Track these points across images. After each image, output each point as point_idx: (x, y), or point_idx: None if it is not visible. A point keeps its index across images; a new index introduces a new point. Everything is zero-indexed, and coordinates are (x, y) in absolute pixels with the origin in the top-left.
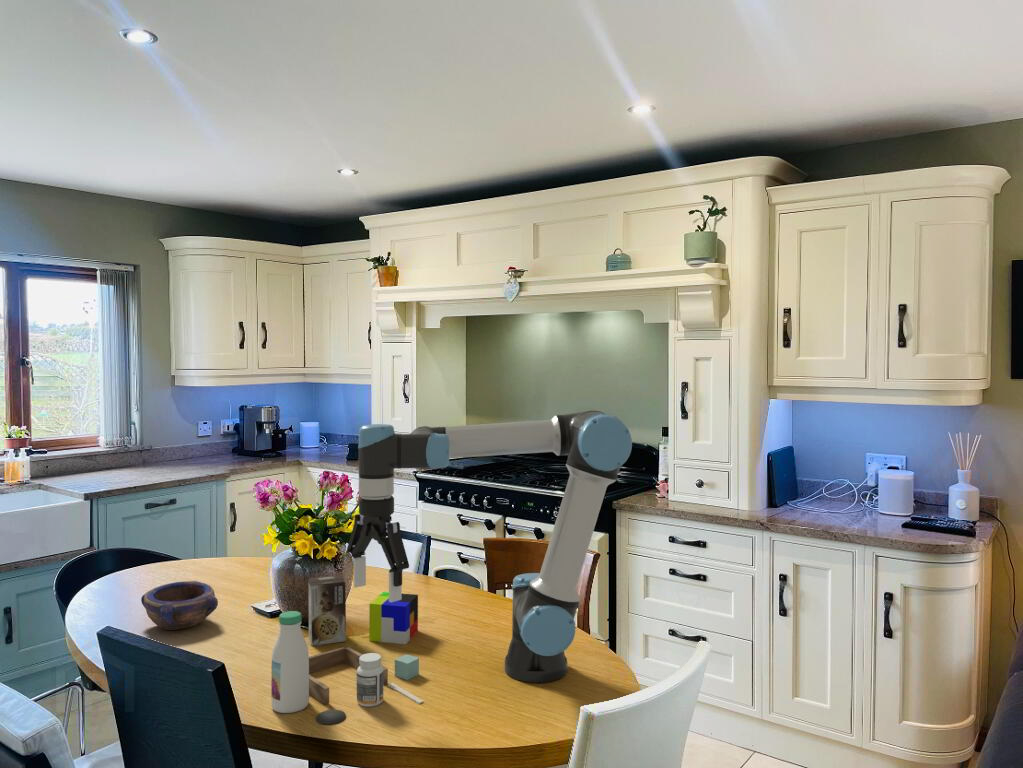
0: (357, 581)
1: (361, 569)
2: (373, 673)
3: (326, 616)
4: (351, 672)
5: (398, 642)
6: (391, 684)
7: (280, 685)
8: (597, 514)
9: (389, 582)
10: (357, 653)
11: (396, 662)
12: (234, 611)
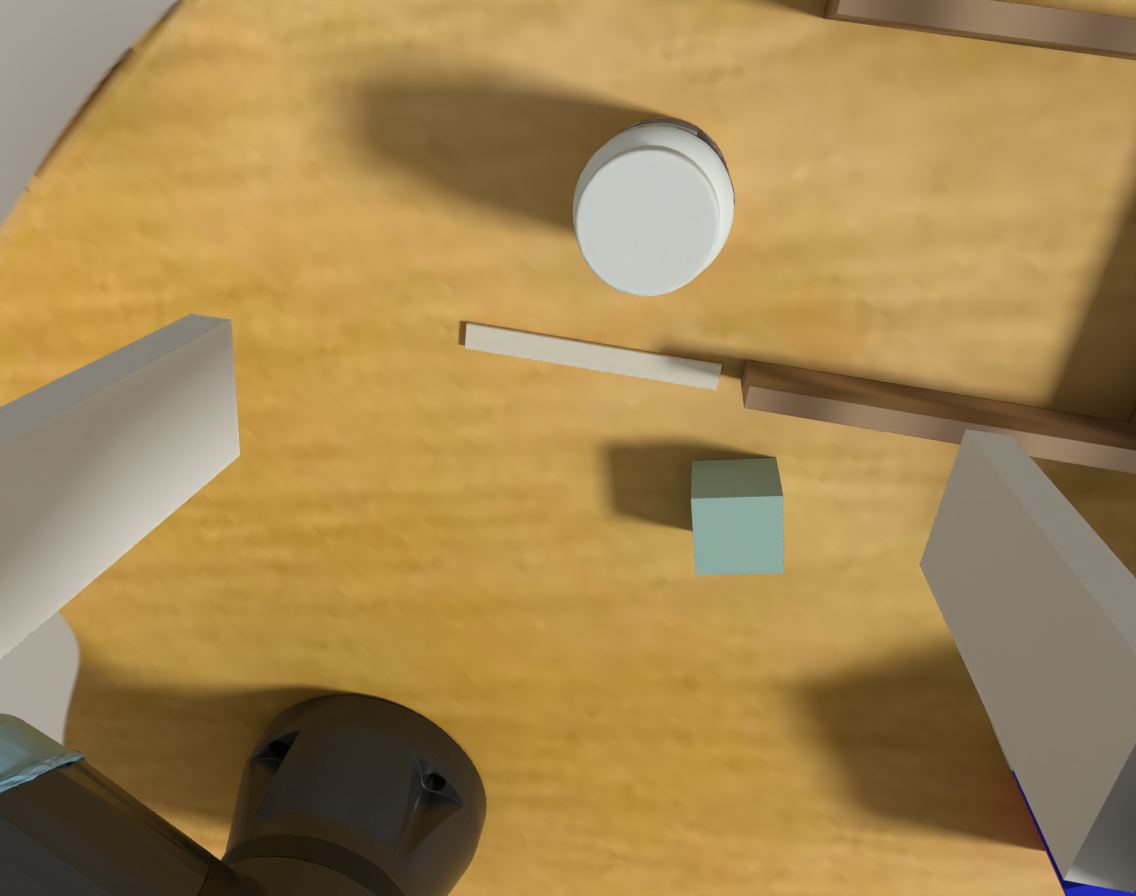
0: (979, 492)
1: (1010, 645)
2: (582, 180)
3: None
4: (1002, 358)
5: None
6: (708, 377)
7: None
8: None
9: (62, 399)
10: (1042, 446)
11: (770, 490)
12: None
